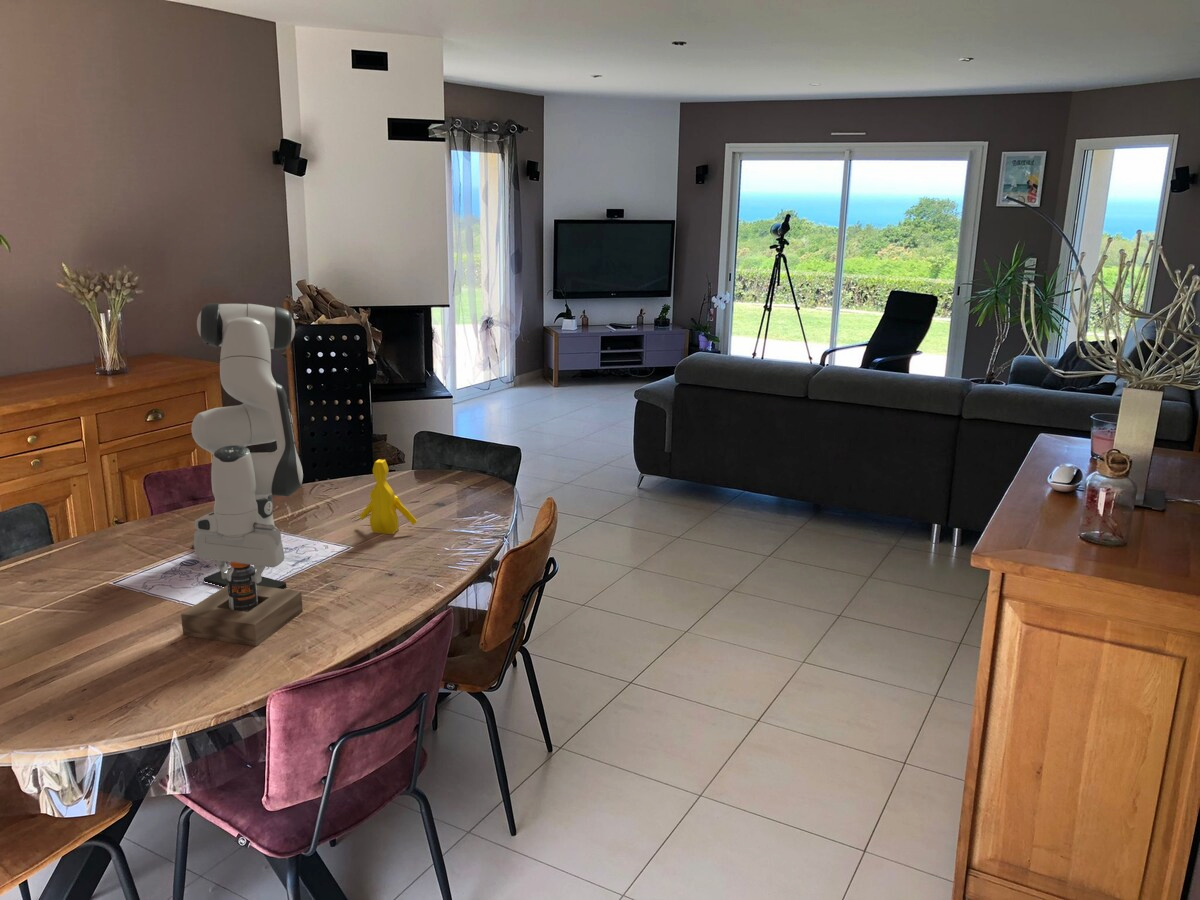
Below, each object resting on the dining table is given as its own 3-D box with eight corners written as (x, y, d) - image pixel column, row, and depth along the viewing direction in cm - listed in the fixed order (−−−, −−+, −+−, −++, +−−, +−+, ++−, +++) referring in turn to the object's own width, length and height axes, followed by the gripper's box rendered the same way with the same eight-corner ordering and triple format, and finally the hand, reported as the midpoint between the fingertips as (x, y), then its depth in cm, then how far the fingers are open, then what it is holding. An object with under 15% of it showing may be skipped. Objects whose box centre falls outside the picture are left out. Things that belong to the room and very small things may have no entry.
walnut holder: (183, 635, 199) (180, 613, 198) (234, 601, 216) (232, 582, 215) (256, 646, 195) (254, 624, 194) (302, 611, 212) (301, 591, 211)
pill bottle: (231, 614, 201) (226, 565, 198) (228, 603, 206) (223, 556, 203) (260, 609, 203) (256, 561, 200) (256, 599, 208) (252, 552, 205)
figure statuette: (420, 530, 266) (418, 457, 260) (409, 539, 259) (407, 464, 253) (363, 524, 269) (360, 452, 264) (351, 533, 262) (347, 459, 256)
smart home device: (228, 566, 233) (287, 582, 225) (228, 573, 234) (288, 588, 225) (201, 577, 226) (262, 594, 218) (202, 584, 227) (262, 600, 218)
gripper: (287, 521, 200) (291, 580, 204) (205, 512, 205) (211, 569, 208) (271, 530, 194) (275, 591, 198) (187, 520, 199) (192, 580, 202)
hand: (241, 580), depth 203 cm, fingers closed on pill bottle, 6 cm apart
